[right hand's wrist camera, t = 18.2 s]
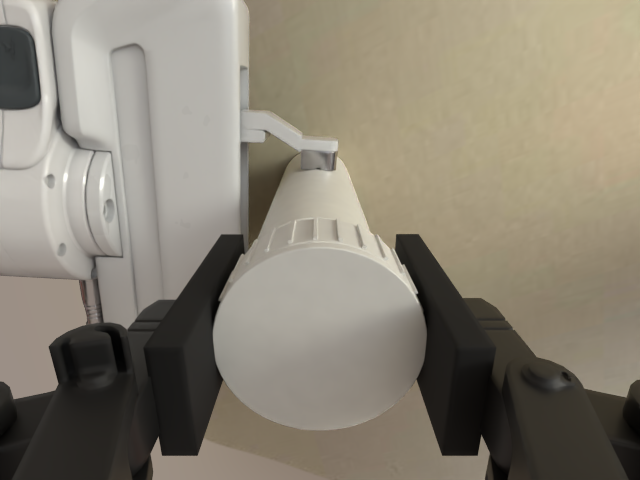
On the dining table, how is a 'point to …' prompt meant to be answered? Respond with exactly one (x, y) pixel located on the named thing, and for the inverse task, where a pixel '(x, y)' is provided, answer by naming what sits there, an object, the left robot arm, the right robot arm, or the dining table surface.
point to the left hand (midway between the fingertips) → (332, 209)
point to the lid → (319, 326)
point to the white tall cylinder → (314, 197)
